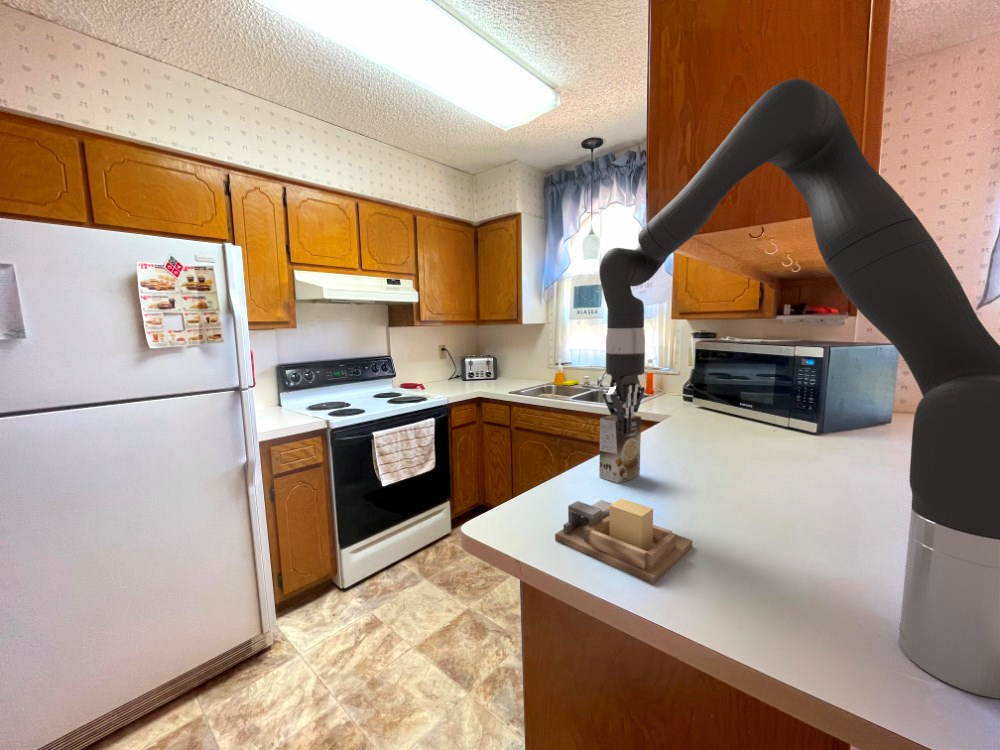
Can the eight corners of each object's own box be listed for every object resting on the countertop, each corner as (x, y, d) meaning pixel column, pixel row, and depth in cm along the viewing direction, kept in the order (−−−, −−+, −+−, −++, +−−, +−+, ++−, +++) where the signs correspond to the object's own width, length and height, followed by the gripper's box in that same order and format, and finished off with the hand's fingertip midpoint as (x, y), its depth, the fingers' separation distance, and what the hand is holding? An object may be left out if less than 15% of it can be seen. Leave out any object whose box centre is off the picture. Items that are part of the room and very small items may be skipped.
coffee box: (618, 484, 101) (619, 421, 100) (598, 477, 106) (598, 417, 105) (640, 476, 107) (641, 416, 105) (620, 469, 112) (621, 412, 110)
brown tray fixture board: (692, 546, 72) (693, 515, 71) (653, 584, 62) (654, 547, 61) (599, 513, 86) (599, 486, 85) (555, 539, 76) (554, 509, 75)
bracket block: (652, 547, 70) (653, 508, 69) (641, 556, 67) (641, 516, 66) (621, 535, 74) (621, 498, 74) (609, 543, 72) (609, 505, 71)
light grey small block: (614, 518, 80) (614, 504, 80) (600, 527, 77) (600, 512, 77) (601, 514, 82) (601, 500, 82) (587, 522, 79) (587, 507, 79)
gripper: (625, 353, 75) (624, 445, 76) (658, 349, 84) (656, 431, 86) (590, 352, 80) (590, 438, 82) (625, 348, 89) (624, 426, 91)
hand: (624, 434), depth 84 cm, fingers closed
